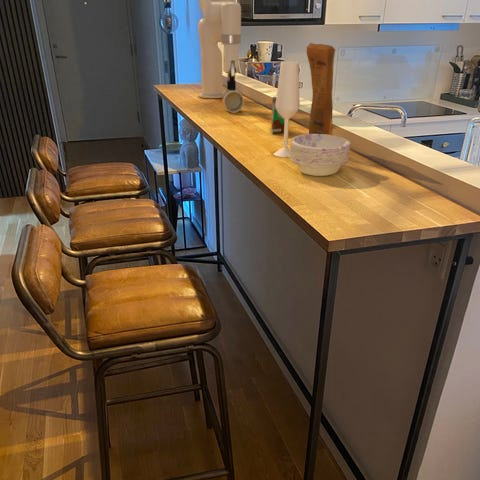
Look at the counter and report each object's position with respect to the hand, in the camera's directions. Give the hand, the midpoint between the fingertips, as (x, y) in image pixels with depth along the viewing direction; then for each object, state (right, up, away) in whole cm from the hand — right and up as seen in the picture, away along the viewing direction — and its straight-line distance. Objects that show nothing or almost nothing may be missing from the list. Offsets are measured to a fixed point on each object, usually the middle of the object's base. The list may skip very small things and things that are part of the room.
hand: (231, 91), depth 203 cm
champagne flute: (+17, -44, -56) cm, 73 cm away
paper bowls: (+24, -53, -71) cm, 92 cm away
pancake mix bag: (+27, -41, -51) cm, 71 cm away
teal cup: (0, -3, 0) cm, 3 cm away
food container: (+18, -28, -31) cm, 45 cm away
